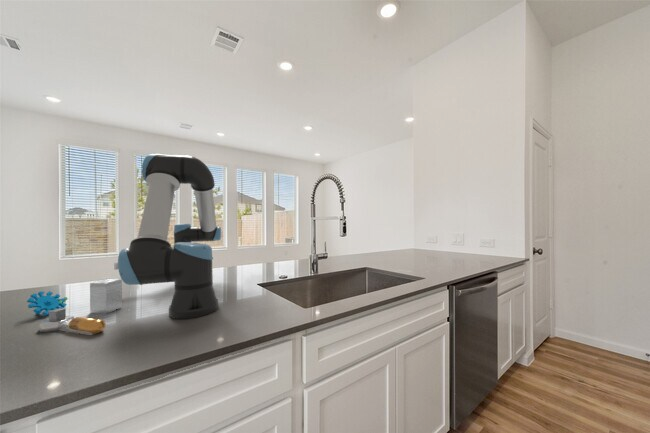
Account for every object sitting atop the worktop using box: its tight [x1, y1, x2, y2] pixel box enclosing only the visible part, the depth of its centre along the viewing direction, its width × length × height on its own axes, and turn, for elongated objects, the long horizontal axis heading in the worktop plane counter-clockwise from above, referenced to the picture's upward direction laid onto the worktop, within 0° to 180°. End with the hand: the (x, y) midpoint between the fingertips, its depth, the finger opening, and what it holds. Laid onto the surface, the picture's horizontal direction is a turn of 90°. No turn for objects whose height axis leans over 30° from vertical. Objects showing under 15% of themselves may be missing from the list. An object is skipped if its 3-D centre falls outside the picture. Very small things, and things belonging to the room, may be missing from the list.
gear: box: [26, 290, 69, 316], centre depth 87 cm, size 11×6×10 cm
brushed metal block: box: [89, 278, 123, 314], centre depth 90 cm, size 6×6×10 cm
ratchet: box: [39, 308, 107, 336], centre depth 74 cm, size 22×7×5 cm, turn 74°
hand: (130, 266), depth 100 cm, fingers open, 13 cm apart
